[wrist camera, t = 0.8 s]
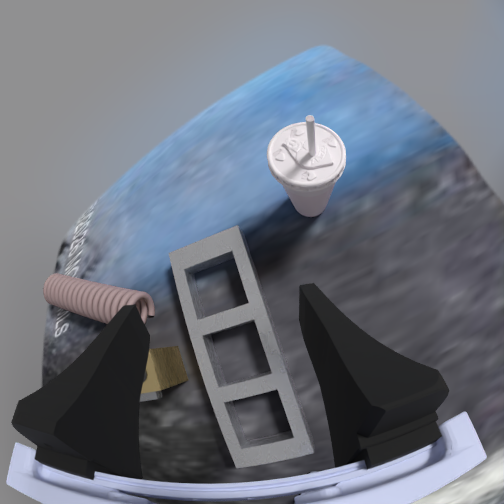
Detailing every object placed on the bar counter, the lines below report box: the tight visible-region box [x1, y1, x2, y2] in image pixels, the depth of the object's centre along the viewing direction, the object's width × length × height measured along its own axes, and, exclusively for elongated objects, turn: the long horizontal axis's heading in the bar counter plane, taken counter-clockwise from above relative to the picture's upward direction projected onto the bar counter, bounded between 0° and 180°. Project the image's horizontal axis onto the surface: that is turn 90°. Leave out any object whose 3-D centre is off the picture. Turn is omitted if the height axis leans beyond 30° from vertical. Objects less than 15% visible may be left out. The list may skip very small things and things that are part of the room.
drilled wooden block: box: [140, 346, 188, 402], centre depth 26 cm, size 6×4×6 cm
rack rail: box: [169, 225, 314, 468], centre depth 26 cm, size 24×8×2 cm, turn 18°
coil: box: [43, 274, 155, 324], centre depth 31 cm, size 5×5×18 cm
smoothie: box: [267, 115, 346, 217], centre depth 23 cm, size 6×6×14 cm
